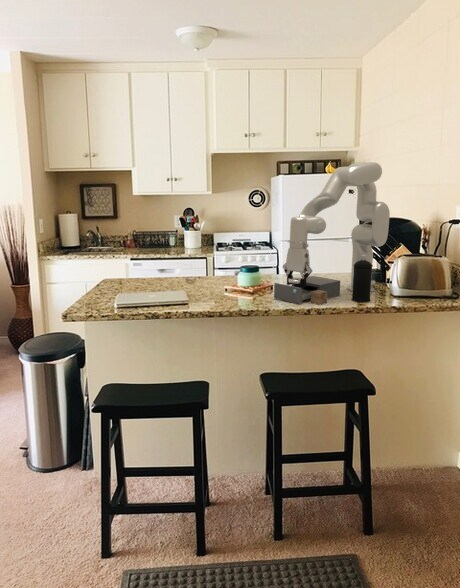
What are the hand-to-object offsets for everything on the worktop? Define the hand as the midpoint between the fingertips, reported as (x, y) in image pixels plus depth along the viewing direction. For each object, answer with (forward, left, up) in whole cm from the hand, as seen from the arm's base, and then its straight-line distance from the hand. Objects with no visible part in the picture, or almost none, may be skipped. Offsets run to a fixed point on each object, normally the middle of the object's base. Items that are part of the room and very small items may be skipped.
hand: (296, 285), depth 228 cm
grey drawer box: (-14, 0, -6) cm, 15 cm away
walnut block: (-3, +11, -6) cm, 13 cm away
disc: (0, 0, +1) cm, 1 cm away
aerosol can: (-21, +20, -7) cm, 30 cm away
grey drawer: (-1, 0, -6) cm, 6 cm away
